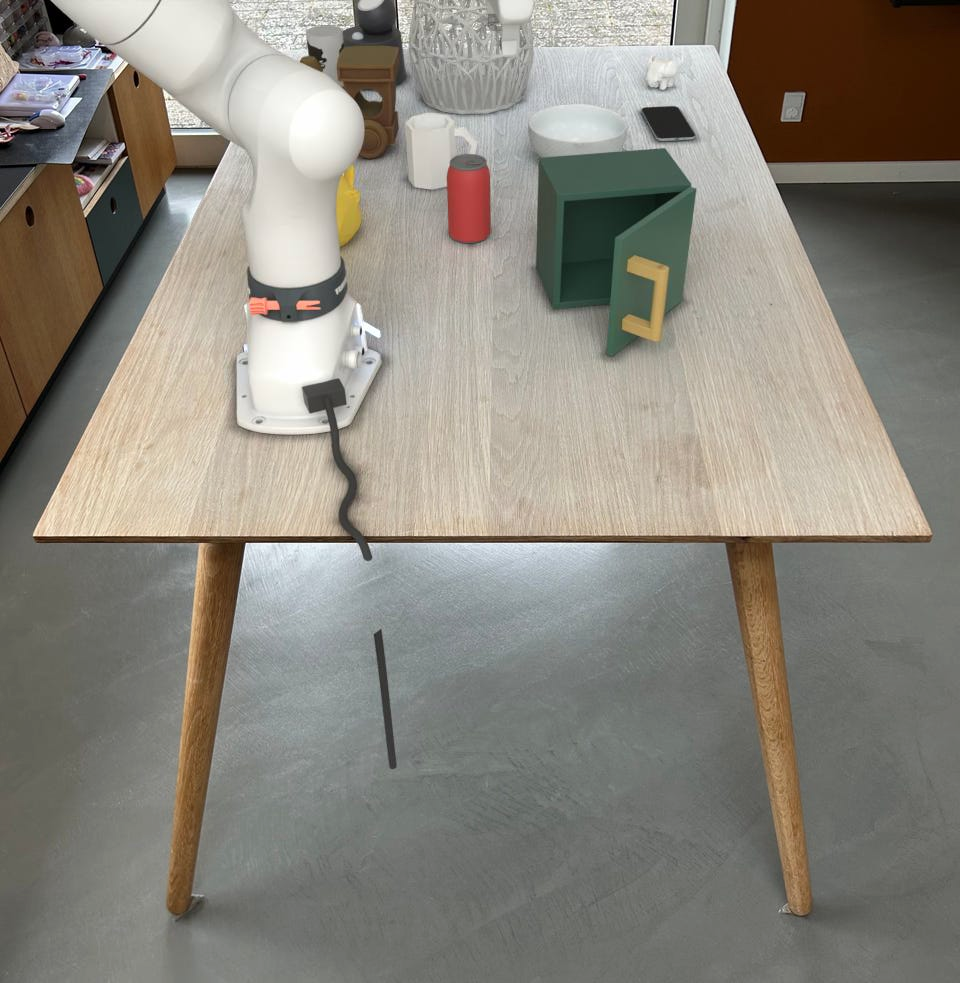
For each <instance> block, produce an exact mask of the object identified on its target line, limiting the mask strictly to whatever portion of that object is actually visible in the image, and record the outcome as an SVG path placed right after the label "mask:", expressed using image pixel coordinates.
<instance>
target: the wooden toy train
mask: <svg viewBox="0 0 960 983" xmlns="http://www.w3.org/2000/svg"><path fill="white" fill-rule="evenodd" d="M299 62H301V63H303V64H305V65H307V66H309V67H311V68H313V69H316V70H318V71H320V72H323V67H322V66H321V65H320V63H319V62H318V61H317V60H316V58H315V57H313V56H309V55H306V56H302V57H301V58H300V60H299ZM399 63H400V61H399V47H390V46H352V47H344V48H343V50H342V51H341V52H340V55H339V57H338V60H337V76H338V81H342V82H343V85H344V86H341V87H342V88H343V89H344V90H345V91H346V92H347V93H348V94H349V95H350V96H351V97H352V98H353V99H354V100H355V102H356V103H357V104H358V106H359V108H360V110H361V112H362V116H363V120H364V140H363V144H362V147H361V150H360V153H359V155H358V157H360V158H363V159H369V160H373V159H377V158H379V157H382V156H383V155H384V154H385V152H387V149H388V147H389V146H395V144H396V140H397V138H398V133H399V129H400V125H399V112H398V110H396V104H397V86H396V75H397V72H398V69H399ZM362 89H372V90H371V91H374V92H375V93H377V94H378V96H380V98H381V100H380V101H376V100H370V101H369V100H368V99H366V98H365V97H364V95H363V93H362Z"/></svg>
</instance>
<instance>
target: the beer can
mask: <svg viewBox="0 0 960 983" xmlns="http://www.w3.org/2000/svg"><path fill="white" fill-rule="evenodd" d="M446 198H447V199H446V200H447V201H446V202H447V226H448V228H447V229H448V230H447V231H448V232H447V233H448V235H449V237H450V238H451V239H452V240H454V241H456V242H458V243H463V244H476V243H480V242H482V241H484V240H486V239H488V238H489V236H490V235H491V230H492V229H491V226H492V225H491V223H492V222H491V221H492V220H491V219H492V218H491V172H490V169H489V165H488V161H487V159H486V157H484V156H482V155H480V154H476V153H475V154H467V153H463V154H458V155H456V156H455V157H453V158H452V159H451V160H450V165H449V168H448V172H447V187H446Z"/></svg>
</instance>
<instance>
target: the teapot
mask: <svg viewBox="0 0 960 983" xmlns="http://www.w3.org/2000/svg"><path fill="white" fill-rule="evenodd" d="M354 184H355V166H354V163H353V164H352V165H351V166H350V168H349V169H348V170H347V171H345V172H344V173H343V174H342V175H341V178H340V181H339V186H338V191H337V199H336V215H337V226H338V237H339V248H340V249H341V248H342V247H343V246H345V245H346V244H348V243H349V242H350V241H351V240H352V238H353V237H354V236H355V235H356V233H357V232H358V230H359V229H360V227H361V224H362V221H363V218H362V211H361V206H360V204H359V203H360V200H361V194H360V192H359V190H358V189H357V188H355V187H354Z"/></svg>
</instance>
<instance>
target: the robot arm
mask: <svg viewBox="0 0 960 983" xmlns="http://www.w3.org/2000/svg"><path fill="white" fill-rule="evenodd" d="M50 1H51V2H52V3H53V4H54V5H55V7H57V8H58V9H59V10H60V11H61V12H62V13H63V14H65V15H66V16H67V17H68V18H69V19H70V20H71V21H73V22H74V23H75V24H76V25H77V26H78V27H79V28H81V29H82V30H83V31H84V32H86V33H87V34H88V35H90V36H91V37H92V38H94V40H96V41H97V42H99V43H100V44H101V45H103V46H104V47H106V49H108V50H109V51H111V52H112V53H113V54H115V55H116V56H118V57H119V58H120V59H122V60H123V61H124V62H126V63H127V64H128V65H130V67H133V69H135V70H137V71H138V72H139V73H140V74H142V75H143V76H144V77H146V78H147V79H149V80H150V81H151V82H153V83H154V84H156V85H157V86H158V87H159V88H161V89H162V90H163V91H164V92H166V93H167V94H168V95H170V96H171V97H172V98H173V99H174V100H175V101H176V102H178V103H179V104H180V105H181V106H183V108H185V109H186V110H187V111H189V112H190V113H192V114H193V115H194V116H195V117H196V118H197V119H199V120H200V121H201V122H203V123H204V124H205V125H207V127H209V128H210V129H212V130H213V131H214V132H215V133H217V134H218V135H219V136H221V137H223V138H224V139H226V140H228V141H229V142H231V143H233V144H235V145H236V146H238V147H240V148H241V149H243V150H245V152H246V153H247V155H248V157H249V159H250V162H251V165H252V173H253V174H252V176H253V177H252V179H253V180H252V187H251V188H252V189H251V193H250V194H249V195H248V196H246V197H245V199H244V201H243V202H242V205H241V208H240V214H239V215H240V216H239V217H240V222H241V228H242V233H243V240H244V245H245V250H246V257H247V262H248V266H247V269H246V275H247V276H246V287H247V293H248V300H247V302H246V303H245V304H244V305H243V308H244V313H245V317H246V332H247V333H246V339H247V341H246V342H247V343H243V344H242V352H240V353H239V354H237V356H236V423H237V425H238V426H239V427H241V428H242V429H245V430H249V431H252V432H255V433H261V434H268V435H284V436H285V435H288V436H289V435H291V436H292V435H294V436H295V435H296V436H297V435H314V434H323V433H329V432H330V442H331V452H332V456H333V459H334V462H335V464H336V466H337V468H338V469H339V470H340V471H341V472H342V473H343V475H344V476H345V477H346V479H347V481H348V488H347V490H346V493H345V495H344V497H343V499H342V500H341V503H340V506H339V508H338V519H339V523H340V526H341V528H342V529H344V531H345V532H346V533H348V534H349V535H350V536H351V537H352V538H353V539H354V540H355V542H356V543H357V545H358V547H359V549H360V552H361V555H362V558H363V560H364V561H366V562H371V561H372V560H373V554H372V551H371V548H370V546H369V544H368V541H367V539H366V537H365V536H364V535H363V533H361V531H360V530H358V528H356V527H355V526H354V525H353V523H351V521H350V520H349V518H348V512H349V511H348V510H349V508H350V506H351V504H352V502H353V500H354V498H355V496H356V494H357V491H358V490H357V489H358V480H357V477H356V474H355V473H354V472H353V470H352V469H351V468H350V467H349V466H348V465H347V463H346V462H345V460H344V458H343V456H342V453H341V452H342V451H341V444H340V433H339V430H340V429H344V428H345V427H348V426H350V425H351V424H352V422H353V420H354V418H355V416H356V414H357V412H358V410H359V409H360V406H361V405H362V402H364V399H365V398H366V395H367V393H368V391H369V390H370V387H371V385H372V383H373V381H374V379H375V377H376V376H377V373H378V371H379V370H380V368H381V367H382V366H381V365H382V364H383V361H382V356H381V354H380V353H379V352H378V351H375V350H373V349H371V348H369V347H368V342H367V335H366V332H368V333H369V334H370V335H373V336H374V337H376V338H378V339H379V338H381V331H380V330H379V329H378V328H376V327H374V326H372V325H371V324H369V323H367V322H365V321H364V314H363V308H362V305H361V304H360V303H359V302H358V301H357V300H356V299H355V298H354V297H353V296H352V295H351V294H350V293H349V291H348V289H349V288H348V272H347V268H346V264H345V260H344V258H343V257H342V255H341V247H340V248H339V237H338V226H337V215H336V199H337V191H338V186H339V181H340V178H341V175H342V176H343V175H344V172H345V171H347V170H348V169H349V168H350V166H351V165H352V164H353V165H354V163H355V161H356V160H357V158H358V157H359V153H360V150H361V147H362V144H363V140H364V120H363V116H362V112H361V110H360V108H359V106H358V104H357V103H356V102H355V100H354V99H353V98H352V97H351V96H350V95H349V94H348V93H347V92H346V91H345V90H344V89H343V88H342V87H341V86H340V85H338V84H337V83H336V82H335V81H334V80H333V79H332V78H331V77H329V76H328V75H326V74H324V73H322V72H320V71H318V70H316V69H313V68H311V67H309V66H307V65H305V64H303V63H301V62H300V60H296V59H294V58H293V57H290V56H288V54H287V55H286V54H285V53H283V52H281V51H280V50H278V49H276V48H274V47H273V46H271V45H269V44H268V43H267V42H265V41H264V40H262V38H260V37H259V36H258V35H256V33H255V32H254V31H253V30H251V28H249V27H248V26H247V24H246V23H245V22H244V21H243V20H242V19H241V17H239V15H238V14H237V13H236V11H235V10H233V7H232V4H231V2H230V1H229V0H50ZM484 3H485V4H486V9H487V25H488V26H487V27H488V29H489V31H501V36H499V40H500V47H499V51H500V52H501V54H503V55H504V56H509V55H515V54H516V52H517V38H518V34H519V29H520V24H525V25H526V24H527V23H529V22H530V20H531V19H532V16H533V12H534V7H535V0H484ZM531 21H532V20H531ZM382 630H383V629H382V628H380V629H379V630H377V631H376V632H375V633H373V641H374V648H375V649H374V650H375V656H376V664H377V671H378V672H377V673H378V680H379V690H380V698H381V706H382V715H383V716H382V717H383V724H384V734H385V742H386V751H387V758H388V768H389V769H391V770H395V769H397V766H398V764H397V754H396V747H395V739H394V738H395V737H394V728H393V718H392V717H393V716H392V709H391V708H392V707H391V699H390V688H389V682H388V681H389V680H388V671H387V663H386V654H385V645H384V639H383V638H384V637H383V631H382Z"/></svg>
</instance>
